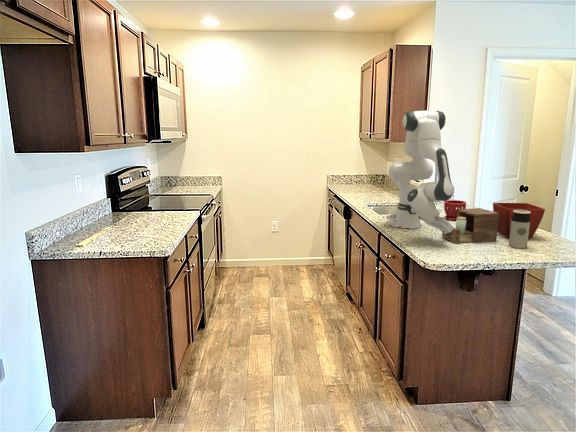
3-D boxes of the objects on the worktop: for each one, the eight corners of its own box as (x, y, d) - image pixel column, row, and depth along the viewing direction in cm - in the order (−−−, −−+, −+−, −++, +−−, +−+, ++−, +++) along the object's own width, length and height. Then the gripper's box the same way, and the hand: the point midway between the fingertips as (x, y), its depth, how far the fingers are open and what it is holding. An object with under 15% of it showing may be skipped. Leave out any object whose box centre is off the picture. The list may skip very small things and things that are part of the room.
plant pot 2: (523, 231, 228) (527, 202, 225) (542, 240, 210) (546, 209, 206) (489, 231, 229) (492, 202, 226) (504, 240, 211) (508, 208, 207)
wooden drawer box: (455, 236, 218) (458, 209, 215) (477, 234, 222) (480, 208, 219) (473, 243, 205) (476, 214, 202) (496, 241, 209) (499, 213, 205)
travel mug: (508, 243, 204) (512, 209, 200) (526, 245, 200) (531, 210, 196) (508, 247, 197) (512, 211, 194) (526, 249, 193) (531, 213, 190)
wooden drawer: (438, 237, 215) (439, 224, 214) (464, 235, 219) (465, 222, 218) (454, 243, 203) (455, 230, 201) (480, 241, 207) (482, 228, 205)
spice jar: (452, 236, 213) (454, 216, 210) (460, 236, 214) (462, 216, 211) (459, 239, 208) (461, 218, 206) (466, 238, 209) (468, 218, 207)
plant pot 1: (459, 217, 266) (460, 199, 264) (468, 221, 253) (470, 203, 251) (439, 217, 266) (441, 199, 264) (448, 221, 253) (449, 203, 251)
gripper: (447, 214, 194) (462, 232, 198) (423, 206, 213) (438, 223, 218) (438, 224, 194) (454, 242, 198) (415, 215, 213) (430, 232, 218)
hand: (445, 232), depth 208 cm, fingers closed, pressing on wooden drawer
